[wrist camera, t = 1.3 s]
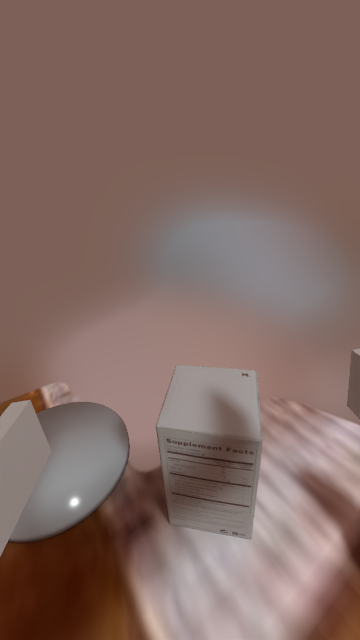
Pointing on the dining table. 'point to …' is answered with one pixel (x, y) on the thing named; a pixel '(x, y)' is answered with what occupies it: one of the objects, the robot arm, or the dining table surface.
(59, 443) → the plate
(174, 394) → the supplement box
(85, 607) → the dining table surface
